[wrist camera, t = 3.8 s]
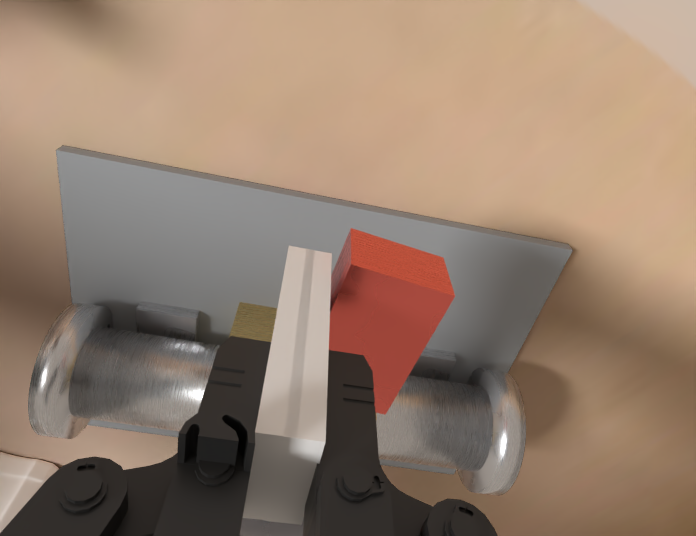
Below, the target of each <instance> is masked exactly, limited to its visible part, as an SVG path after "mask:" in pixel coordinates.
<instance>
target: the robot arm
mask: <svg viewBox="0 0 696 536" xmlns="http://www.w3.org/2000/svg"><path fill="white" fill-rule="evenodd" d="M331 265H332V253H327V252H321V251H315V250H310V249H305V248H299V247H294V246H289V248H288V253H287V259H286V264H285V270H284V275H283V281H282V286H281V292H280V297H279V303H278V308H277V314H276V319H275V325H274V330H273V336H272V341H271V342H267V341H261V340H254V339H248V338H241V337H235V336H230V337H229V338H228V339H227V340H226V341H225V342H224V343H223V344H222V345H221V346H220V347H219V348H218V349H217V352H216V356H215V359H214V362H213V365H212V369H211V372H210V375H209V378H208V383H207V385H206V388H205V391H204V394H203V397H202V401H201V404H200V407H199V410H198V413H197V414H195V415H194V416H193V417H191V418H190V419H189V420H187V421H186V422H185V423H184V425H183V427H182V428H181V430H180V432H179V435H178V453H177V454H175V455H174V456H173V457H171V458H169V459H167V460H165V461H163V462H161V463H158V464H154V465H150V466H146V467H140V468H134V469H128V470H123V469H122V467H121V466H120V465H118V464H117V463H115V462H113V461H112V460H110V459H106V458H100V457H89V458H83V459H78V460H75V461H73V462H71V463H69V464H67V465H64V466H62V467H61V468H60V469H59V470H57V471H56V472H55V473H54V474H53V475H51V476H50V477H49V478H48V479H47V480H46V481H45V483H44V484H43V485H42V486H41V487H40V488H39V489H38V491H37V492H36V493H35V494H34V495H33V496H32V497H31V499H30V500H29V501H28V502H27V503H26V504H25V505H24V507H23V508H22V509H21V510H20V511H19V512H18V513H17V515H16V516H15V517H14V518H13V519H12V520H11V521H10V523H9V524H8V525H7V526H6V527H5V528H4V529H3V530H2V532H1V533H0V536H239V535H240V529H241V524H242V518H248V519H257V520H266V521H271V522H280V523H290V524H299V525H302V522H303V518H304V526H303V536H497V534H496V532H495V529H494V528H493V526H492V525H491V523H490V522H489V520H488V519H487V517H486V516H485V515H484V514H483V513H482V512H481V511H480V510H478V509H477V508H476V507H475V506H474V505H471V504H469V503H467V502H465V501H462V500H457V499H446V500H443V501H441V502H438V503H437V504H436V505H435V506H434V507H432V506H430V505H428V504H425V503H423V502H421V501H419V500H417V499H414V498H412V497H410V496H408V495H406V494H405V493H403V492H401V491H399V490H398V489H397V488H396V487H395V486H394V485H393V484H391V482H390V481H389V480H388V478H387V476H386V475H385V474H384V472H383V470H382V468H381V466H380V461H379V454H378V440H377V425H376V411H375V406H374V404H375V397H374V392H373V390H374V383H373V371H372V369H371V367H370V366H369V364H368V362H367V360H366V359H365V357H364V355H359V354H353V353H346V352H339V351H333V350H329V325H330V295H331Z"/></svg>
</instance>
